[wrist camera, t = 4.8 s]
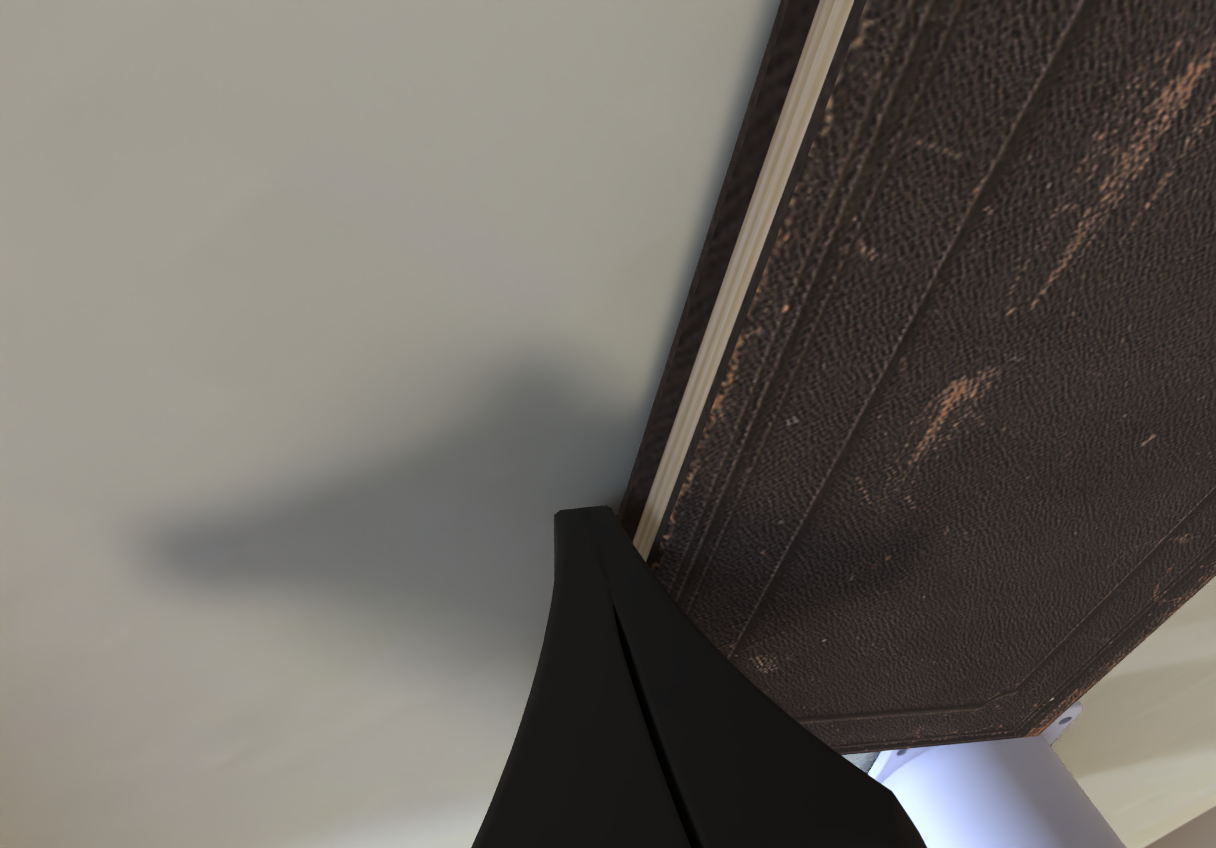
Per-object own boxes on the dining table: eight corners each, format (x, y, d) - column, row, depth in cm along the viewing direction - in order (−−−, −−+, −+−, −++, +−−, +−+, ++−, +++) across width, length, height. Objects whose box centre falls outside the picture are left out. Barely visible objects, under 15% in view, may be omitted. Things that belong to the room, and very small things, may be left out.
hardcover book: (559, 697, 18) (571, 782, 16) (1065, -911, 5) (1396, -1377, 3) (1002, 672, 22) (1051, 736, 21) (1846, -213, 10) (2165, -251, 8)
